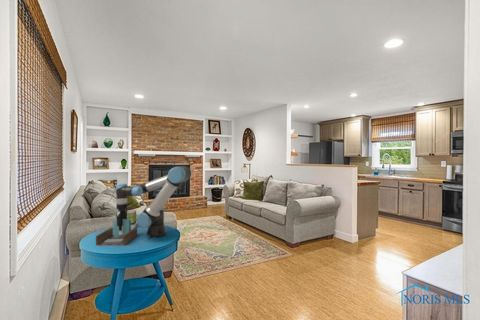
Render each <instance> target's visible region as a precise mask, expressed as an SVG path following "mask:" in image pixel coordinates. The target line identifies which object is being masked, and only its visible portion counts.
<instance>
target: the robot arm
mask: <svg viewBox="0 0 480 320" xmlns="http://www.w3.org/2000/svg"><path fill="white" fill-rule="evenodd" d="M191 177H192V171H191V169H190V168H189V167H188V166H186V165H182V166H175V167H172V168H171V169H169V170H168V173H167V174H166V175H164V176H161V177H158V178H155V179H152V180H150V181H147V182H144V183H142V184H138V185H133V186H130V185H129V186H128V183H126V182H121V183H117V184H116V187H115V191H116V195H115V198H116V199H115V201H116V204H115V205H116V210H117V212H118V214H116V213H115V217H116V216H117V226H119V235H123V226H122V222H123V219H127V211H128V209H127V208H128V197H140V196H141V195H143V194H144V195H145V194H147V193H149V192H152V191H155V190H156V189H160V188H161V189H160V190H159V192H158V193H157V195H156V196H155V198H154V199H153V200H152V201H151V203H150V204H149V205H147V206H146V207H145V208H144V209H143V211H142V212H140V213H139V214H138V215H136V225H138V227H139V228H141V229H147V231H146V236H148V237H149V238H161V237H163V236H166V235H167V230H166V227H165V210H164V209H165V208H164V206H165V204H167V202H168V201H169V199H170V198H171V196H172V195H173V193H175V191H176V190H177V188H180V187H181V186H182V185H183V183H184V182H186V181H188V180H190V178H191Z"/></svg>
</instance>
